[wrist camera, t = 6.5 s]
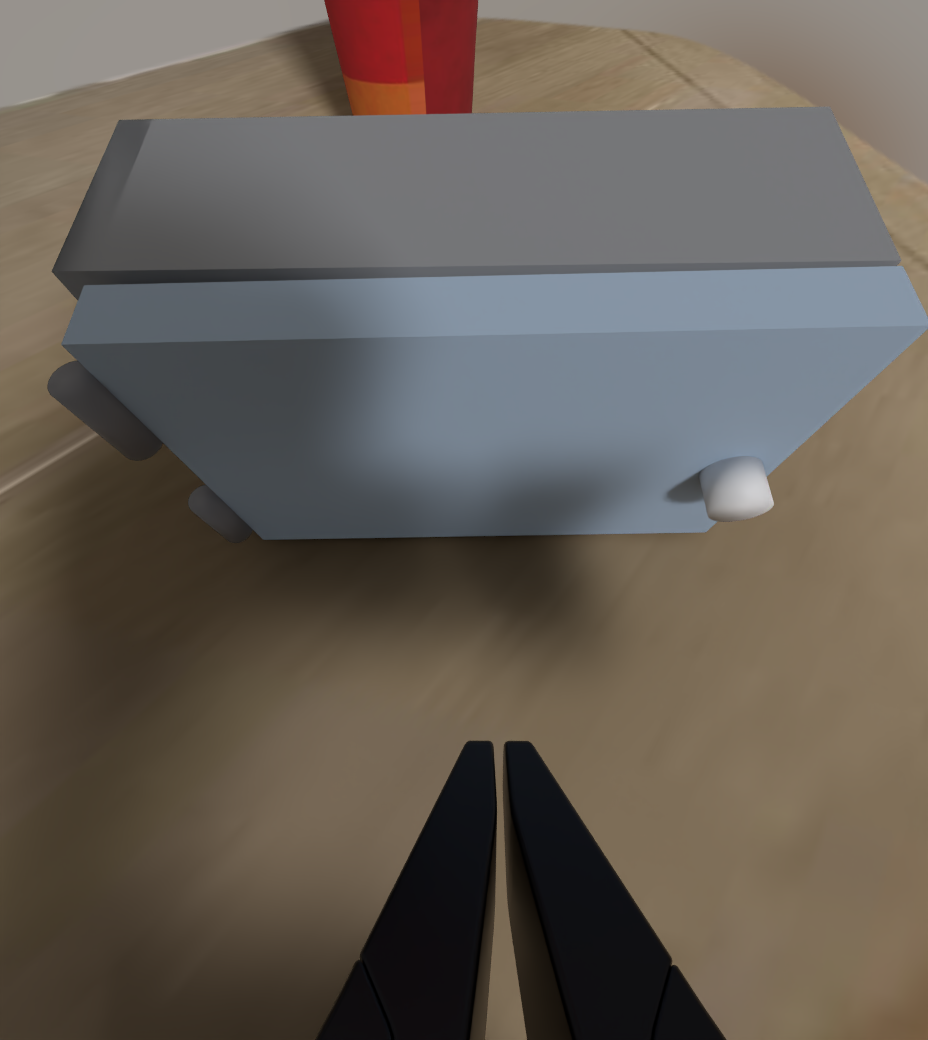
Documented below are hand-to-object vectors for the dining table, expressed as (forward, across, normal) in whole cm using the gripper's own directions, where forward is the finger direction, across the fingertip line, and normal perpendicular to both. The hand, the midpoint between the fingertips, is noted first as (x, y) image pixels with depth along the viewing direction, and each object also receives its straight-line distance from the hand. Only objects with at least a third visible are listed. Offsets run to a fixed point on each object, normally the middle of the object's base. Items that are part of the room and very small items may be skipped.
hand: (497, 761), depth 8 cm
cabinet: (+14, 0, -2) cm, 14 cm away
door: (+11, +1, +1) cm, 11 cm away
